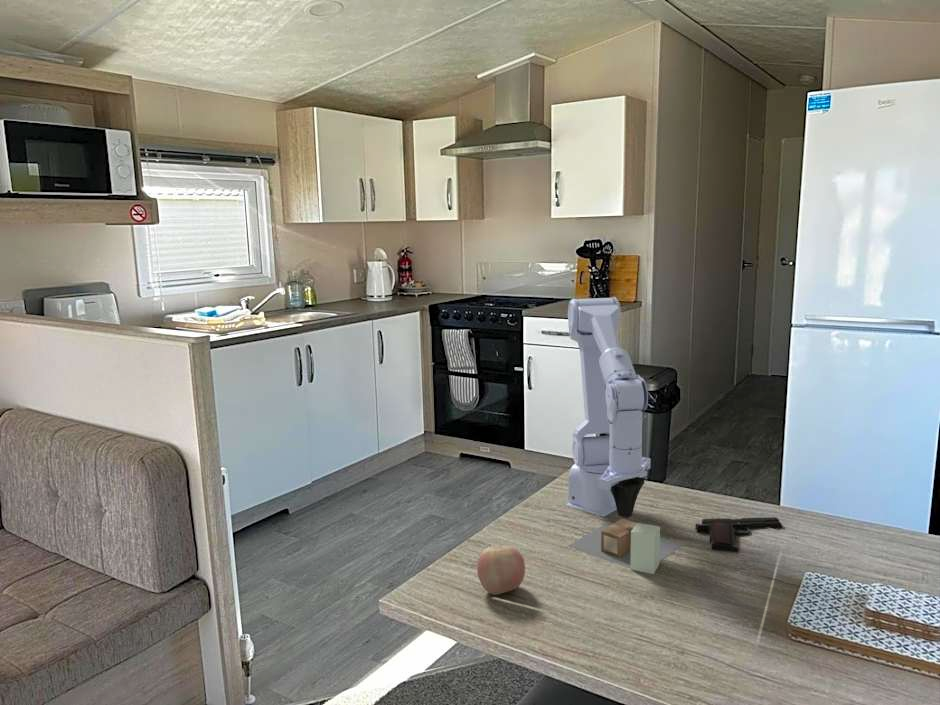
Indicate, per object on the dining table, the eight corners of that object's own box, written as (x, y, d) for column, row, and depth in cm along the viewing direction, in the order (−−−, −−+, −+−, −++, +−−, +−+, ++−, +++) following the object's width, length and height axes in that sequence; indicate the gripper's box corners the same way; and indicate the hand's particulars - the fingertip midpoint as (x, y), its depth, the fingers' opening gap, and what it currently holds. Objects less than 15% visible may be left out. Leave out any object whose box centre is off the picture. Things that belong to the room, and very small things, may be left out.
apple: (530, 584, 122) (529, 540, 120) (517, 607, 115) (516, 561, 113) (485, 577, 124) (484, 534, 123) (470, 600, 117) (469, 554, 116)
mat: (567, 547, 134) (567, 545, 134) (609, 523, 144) (609, 521, 144) (644, 575, 123) (644, 572, 123) (683, 546, 133) (683, 544, 133)
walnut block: (621, 538, 136) (601, 551, 131) (622, 518, 136) (601, 531, 131) (640, 544, 134) (620, 558, 129) (640, 524, 133) (620, 537, 128)
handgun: (808, 544, 131) (775, 514, 142) (716, 546, 129) (690, 516, 141) (806, 555, 131) (773, 525, 143) (715, 558, 129) (689, 527, 141)
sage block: (630, 569, 125) (630, 531, 123) (636, 559, 128) (637, 522, 127) (653, 574, 123) (654, 536, 121) (659, 564, 126) (660, 526, 125)
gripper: (623, 460, 122) (622, 535, 124) (665, 439, 132) (664, 508, 135) (588, 451, 127) (588, 524, 129) (632, 432, 137) (631, 499, 139)
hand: (624, 515), depth 132 cm, fingers closed
